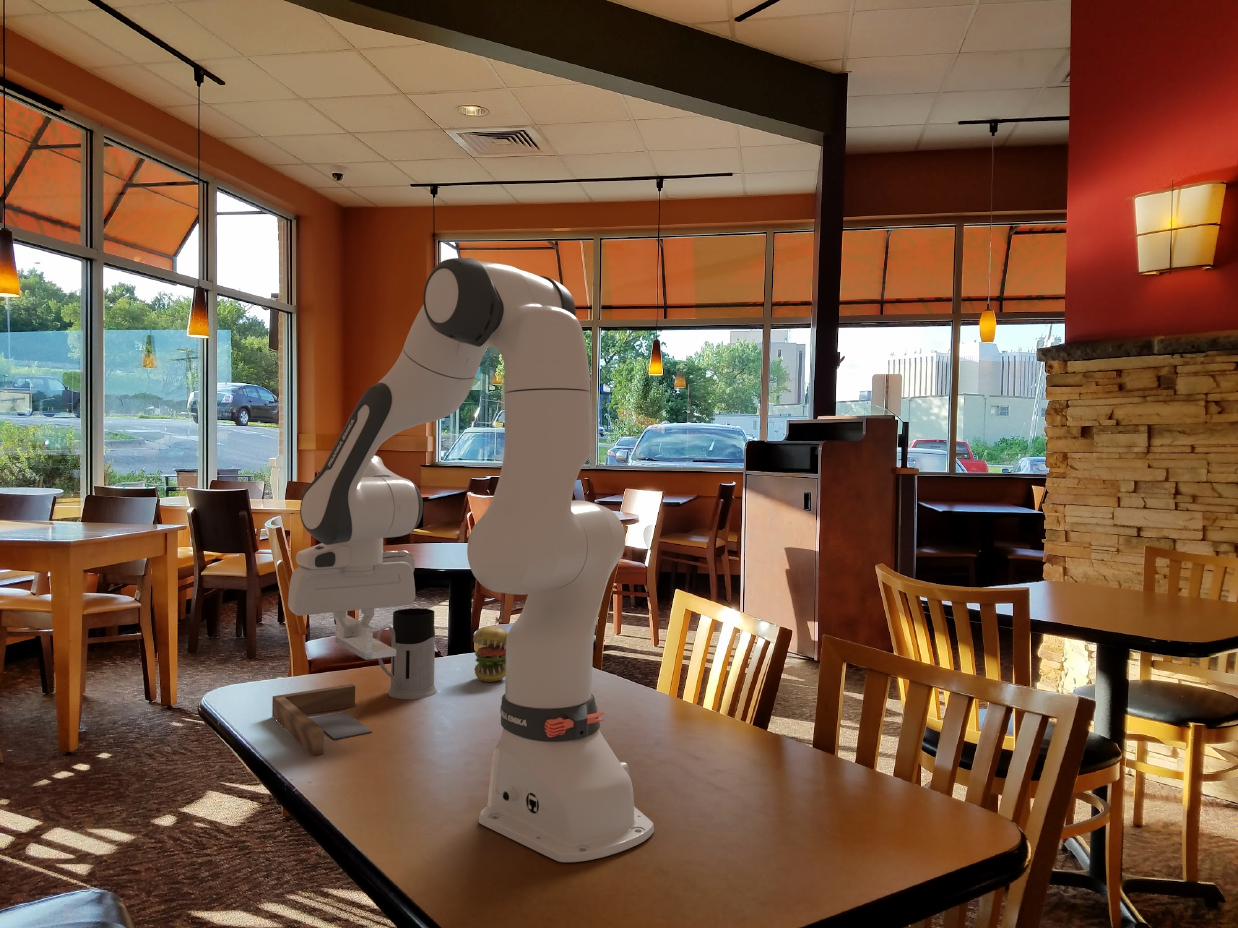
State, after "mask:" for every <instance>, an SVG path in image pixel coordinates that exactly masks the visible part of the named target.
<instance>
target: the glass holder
mask: <svg viewBox="0 0 1238 928" xmlns="http://www.w3.org/2000/svg"><path fill="white" fill-rule="evenodd" d="M386 629H388V630H389V631H390V636H391V646H390V647H392V648H394V649H396V656H392V657H391V659H390V660H391V661H390V662H391V663H390V664H391V665H390V671H389V670H388V669H387V667H386V666H385V664H384V662H383V658H377V661H378V664H379V666H380V668H381V669H382V671H384V672H385V674H386V675H388V677H390V687H389V690H388V691H387V695H388V696H389V697H391V698H394V699H399V700H418V699H424V698H428V697H431V696H434V695H435V694H437V688H436V687H435V686H436V685H435V663H436V662H435V656H436V655H435V653H436V650H435V648H436V631H435V610H433V609H429V608H420V607H419V608H417V607H413V608H402V609H398V610H393V613H392V626H390V625H384V626H382V627H381V628H379V630H378V631H377V635H376V638H375V639H376V640H378V641H380V642H381V636H382V633H383V632H384V630H386Z"/></svg>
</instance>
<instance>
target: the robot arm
mask: <svg viewBox="0 0 1238 928" xmlns="http://www.w3.org/2000/svg"><path fill="white" fill-rule="evenodd" d="M422 295H423V297H422V298H423V299H422V301H423V304H422V306H421V308H420V309H419V312H418V313H417V315H416V317H415V319H414V321H413V323H412V325H411V327H410V328H409V329H410V330H409V331H408V334H407V337H406V339H405V341H404V345H403V348H402V350H401V352H400V354H399V356H398V358H397V360H396V361H395V363H394V364H393V366H392V367H391V368H390V370H389V371H388V372H387V373H386V374H385V375H384V376H383V377H382V378H381V379H380V380H379V381H378V382H376V383H375V384H373V385H372V386H370V387H368V389H366V390H365V392H364V393H363V394H362V395H361V397H360V398H359V400H358V401H357V404H356V405H355V407H354V409H353V410H352V412H351V414H350V416H349V417H348V420H347V422H346V423H345V425H344V427H343V428H342V430H341V433H340V435H339V436H338V438H337V440H336V442H335V444H334V445H333V447H332V450H331V452H330V453H329V455H328V457H327V459H326V461H325V463H324V464H323V465H322V467H321V470H320V471H319V472H318V474H317V475H316V476H315V478H314V479H313V480H312V481H311V483H310V484H309V485H308V486H307V488H306V490H305V492H304V493H303V495H302V497H301V501H300V507H299V513H300V514H299V515H300V520H301V524H302V525H303V527H304V529H305V530H306V531H307V532H308V533H309V534H310V535H311V536H312V538H313V539H315V540H317V541H318V542H320V543H318V544H317V545H314V546H313V545H312V546H310V547H308V548H305V549H302V550H299V551H297V553H296V554H295V562H296V564H298V565H299V566H298V567H296V568H295V569H294V570H293V572H292V573H291V577H290V581H289V587H288V598H287V600H288V601H287V608H288V609H289V610H290V612H291V613H293V615H295V616H299V617H300V616H310V615H320V614H330V613H331V614H333V615H332V617H333V619H334V620H335V623H336V622H337V623H338V625H339V626H340V637H341V638H342V639H346V638H352V628H353V627H350V626H346V624H345V622H344V620H343V619H342V618H346V615H347V612H349V611H351V612H352V611H359V610H360V612H361V614H363V616H362V617H361V620H360V622H362V623H365V624H367V625H369V624H370V623H371V621H372V619H373V618H374V615H375V609H380V608H390V607H401V606H403V607H404V606H410V605H412V604H413V602H414V601H415V599H416V586H415V584H416V583H415V578H414V577H415V576H414V572H415V567H416V565H415V563H416V561H415V560H416V559H415V557H414V556H413V554H412V553H410V552H408V551H407V550H405V549H403V550H401V549H400V550H384V538H385V539H386V538H397V537H403V536H405V535H410V534H411V533H412V532H413V531H415V530H416V528H417V527H418V525H419V524H420V522H421V519H422V516H423V511H424V510H423V509H424V501H423V497H422V493H421V492H420V489H419V488H418V486H417V485H416V484H415V483H414V481H412V480H411V479H410V478H404V477H403V476H400V475H398V474H396V473H394V472H393V471H391V470H389V468H387V467H386V466H385V465H384V462H383V459H382V458H381V457H380V456H378V455H376V453H377V451H378V450H379V448H380V446H381V445H382V444H383V443H385V441H387V440H389V438H391V437H393V436H395V435H397V434H399V433H400V432H404V431H406V430H408V429H411V428H414V427H417V426H420V425H421V426H422V425H424V424H427V423H432V422H436V421H439V420H442V419H444V418H446V417H448V416H450V415H452V414H454V413H455V412H456V411H457V410H459V408H460V407H461V406H462V405H463V403H464V402H465V400H466V399H467V398H468V397H469V394H470V392H471V389H472V387H473V384H474V382H475V379H476V376H477V373H478V371H479V367H480V365H481V362H482V360H483V357H484V355H485V352H486V351H487V349H488V348H489V347H492V348H493V349H496V350H497V351H498V352H499V353H500V355H501V357H502V360H503V368H504V372H503V373H504V375H503V376H504V377H503V381H504V382H503V386H504V388H503V390H504V391H503V392H504V394H503V395H504V399H503V401H504V402H503V403H504V447H503V448H504V450H503V459H502V464H501V470H500V474H499V477H498V482H497V485H496V487H495V490H494V494H493V496H492V499H491V501H490V503H489V506H488V507H487V509H486V511H485V512H484V513H483V515H482V516H481V517H480V518H479V519H478V520H477V522H475V524H474V525H473V527H472V529H471V531H470V533H469V536H468V540H467V546H466V547H467V548H466V551H467V552H466V553H467V554H466V555H467V561H468V562H467V563H468V566H469V568H470V571H471V572H472V575H473V576H474V578H475V579H476V580H477V581H478V582H479V584H480V585H481V586H482V587H484V588H485V589H487V590H489V591H491V592H495V593H502V594H509V595H527V596H526V599H525V603H524V606H523V608H522V611H521V613H520V614H519V616H518V618H517V619H516V620H515V622H514V623H512V625H511V627H510V629H509V631H508V636H507V640H506V672H505V677H504V679H505V680H504V682H505V683H504V690H505V691H504V694H503V695H502V697H501V704H500V709H499V710H500V711H499V714H500V725H501V727H502V728H503V729H502V732H501V736H500V739H499V741H498V742H497V745H496V747H495V748H494V749H493V752H492V759H491V764H490V765H491V768H490V776H489V777H490V778H489V787H488V796H487V797H488V798H487V805H486V806H485V807H484V808H483V809H482V810H481V811H480V813H479V817H478V822H479V824H481V826H484V827H486V828H488V829H491V830H492V831H495V832H496V833H499V834H501V835H503V836H505V837H506V838H508V839H511V840H513V841H514V842H517V843H519V844H521V845H523V846H525V847H527V848H530V849H531V850H534V851H536V852H537V853H539V854H542V855H544V856H546V857H548V858H550V859H552V860H554V861H556V862H559V863H579V862H585V861H593V860H595V859H602V858H605V857H608V856H612V855H616V854H619V853H621V852H623V851H626V850H629V849H631V848H633V847H635V846H637V845H640V844H641V843H643V842H645V841H646V840H647V839H649V838H650V837H651V836H652V835H653V833H654V832H655V828H654V827H655V826H654V822H653V821H652V820H651V819H650V818H649V817H647V816H646V814H644V813H643V812H642V811H640V810H639V809H638V808H637V807H636V806H635V800H634V799H635V798H634V788H633V783H632V779H631V777H630V768H629V765H628V764H627V763H626V762H624V761H620V760H619V758H617V756H616V754H615V753H614V751H613V750H612V748H611V746H610V745H609V743H608V742H607V740H606V739H605V738H604V736H603V734H602V733H601V731H600V728H601V724H600V722H603V721H605V720H604V718H600V716H603V715H604V714H605V713H604V711H599V710H598V706H597V703H596V700H595V696H594V694H593V693H592V688H593V687H592V685H593V683H592V681H593V659H594V657H593V656H594V640H595V632H596V627H597V622H598V617H599V613H600V611H601V607H602V602H603V599H604V596H605V592H606V588H607V585H608V582H609V579H610V577H611V575H612V573H613V570H615V567H616V565H617V564H618V563H619V562H620V561H621V558H622V557H623V554H624V552H625V549H626V533H625V529H624V526H623V523H622V521H621V519H620V518H619V517H618V516H617V514H616V513H615V512H613V511H612V510H611V509H609V507H606V506H603V505H600V504H599V503H594V502H590V501H588V500H581V499H579V500H577V499H575V500H573V495H574V491H575V485H576V483H577V480H578V476H579V474H580V472H581V470H582V468H583V467H584V465H585V464H586V463H587V462H588V460H589V459H590V456H591V454H592V449H593V440H592V439H593V437H592V433H593V432H592V430H593V429H592V400H591V399H592V397H591V395H592V394H591V392H592V391H591V378H590V377H591V375H590V365H589V359H588V351H587V346H586V341H585V337H584V332H583V328H582V325H581V323H580V321H579V319H578V318H577V316H576V314H577V311H576V310H577V309H576V304H575V301H574V298H573V295H572V293H571V292H570V291H569V289H567V288H566V286H564V285H563V284H561V283H560V282H558V281H556V280H555V279H552V278H550V277H548V276H544V275H538V274H534V273H532V272H529V271H525V270H522V269H518V268H516V267H514V266H513V265H510V264H504V263H499V262H491V261H480V260H476V259H475V258H470V257H457V258H456V257H452V258H449V259H444V260H442V261H440V262H438V264H437V265H436V266H434V268H433V269H432V270H431V272H430V274H429V276H428V277H427V280H426V282H425V285H424V289H423V294H422Z"/></svg>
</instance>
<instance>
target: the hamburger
mask: <svg viewBox="0 0 1238 928" xmlns="http://www.w3.org/2000/svg"><path fill="white" fill-rule="evenodd" d="M494 622H495V623H494V625H495V626H484V627H482V628H480V629H478V630H477V631H476V632H475V633H474V635H473V639H472V640H473V643H475V644H477V646H478V647H477V648H478V649H477V651H476V652H475V656H476V658H475V660H474V662H475V661H476V663H477V664H476V665H474V674H475V676H476V678H477V679H479V680H480V681H482V682H485V683H494V682H498V681H501V680H502V679H503V678H504V679H505V672H506V640H507V636H508V633H509V631H507V630H505V629H503V628H501V627H497V626H496V624H498V623H500V622H503V619H501V618H499V617H498V616H495V621H494ZM480 646H481V647H480Z"/></svg>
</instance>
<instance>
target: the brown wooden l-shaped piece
mask: <svg viewBox="0 0 1238 928" xmlns="http://www.w3.org/2000/svg"><path fill="white" fill-rule="evenodd" d="M271 701H272V702H271V703H272V704H271V705H272V706H271V707H272V709H271V710H272V711H271V712H272V713H271V714H272V715H271V717H272V718H273V717H274V718H273V720H275V721H276V720H277V721H276V722H277V723H278V724H279V723H280V724H279V725H280V726H281V725H282V726H281V727H282V728H283V729H284V730H285V731H286V730H287V731H286V732H287V733H288V734H289V733H290V734H289V735H291V736H292V737H293V739H295V741H297V742H298V743H299V744H300V745H301V746H302V747H303V748H304V749H306V750H307V752H308V753H309V754H311V756H312V757H314V756H319V755H324V750H325V749H324V748H325V747H324V743H325V742H324V738H325V737H324V736H325V734H326V733H327V734H326V735H327V736H329V737H330V738H331V739H332V740H334V741H335V740H340V739H341V740H342V739H345V738H353V737H356V736H361V735H367V734H370V733H373V732H372V730H371V729H369V728H368V727H366V726H365V725H364V724H363V723H361V722H360V721H358V720H357V719H356V718H354V717H353V716H352V715H350V714H349V713H348V712H347V711H342V712H335V713H331V714H324V715H319V716H314V717H308V716H307V715H309V714H313V713H314V712H315V713H321V712H326V711H325V710H327V711H332V710H339V709H345V708H349V707H355V706H356V685H355V684H354V683H348V684H343V685H337V686H330V687H329V686H328V687H325V688H324V687H323V688H317V689H310V690H304V691H299V692H298V691H297V692H291V693H285V694H279V695H278V694H277V695H273V696H272V700H271ZM344 707H345V708H344ZM315 713H314V714H315Z"/></svg>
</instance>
